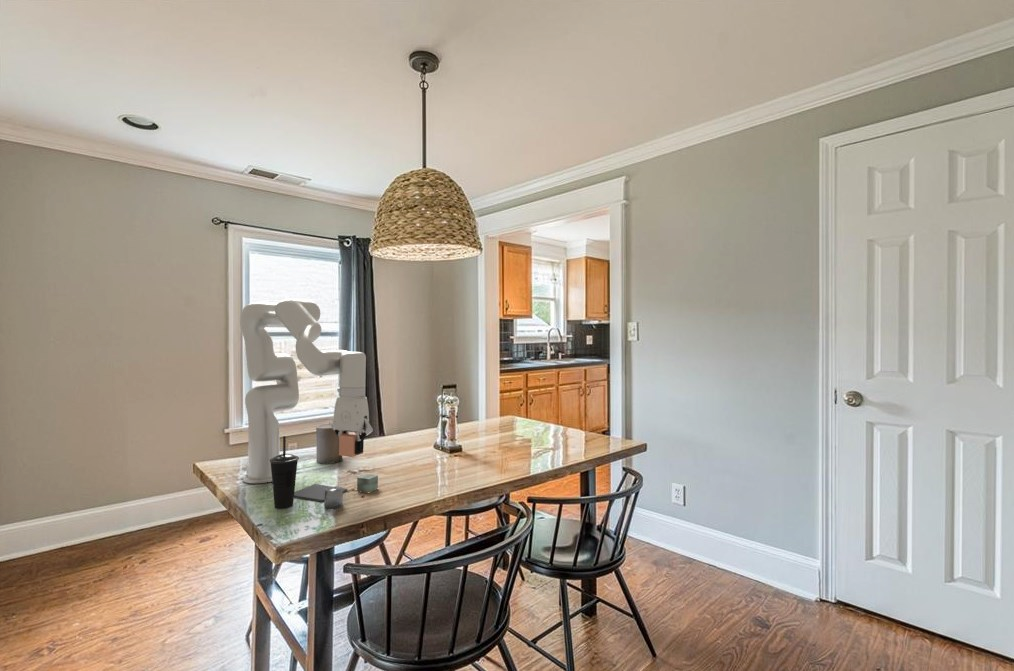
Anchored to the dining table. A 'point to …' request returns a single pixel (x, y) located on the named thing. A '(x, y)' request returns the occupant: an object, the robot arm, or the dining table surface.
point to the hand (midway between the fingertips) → (351, 451)
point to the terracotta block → (347, 444)
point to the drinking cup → (284, 478)
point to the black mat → (313, 492)
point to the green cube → (367, 483)
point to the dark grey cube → (333, 497)
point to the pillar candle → (327, 444)
